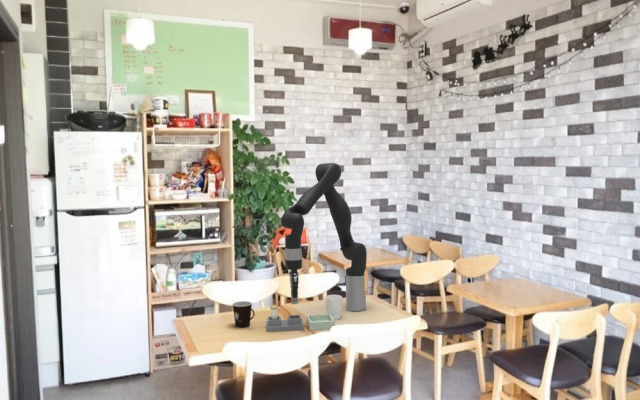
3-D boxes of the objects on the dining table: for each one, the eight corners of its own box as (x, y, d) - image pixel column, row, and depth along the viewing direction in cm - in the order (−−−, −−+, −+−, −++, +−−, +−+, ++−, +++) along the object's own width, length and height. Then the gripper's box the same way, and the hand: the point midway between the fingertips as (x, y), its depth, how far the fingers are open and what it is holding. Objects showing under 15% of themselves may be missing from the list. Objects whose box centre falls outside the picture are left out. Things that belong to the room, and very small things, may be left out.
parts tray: (330, 321, 240) (330, 313, 240) (334, 328, 229) (334, 321, 229) (306, 322, 239) (306, 315, 238) (309, 330, 228) (309, 322, 227)
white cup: (345, 317, 246) (345, 296, 245) (334, 321, 240) (334, 300, 239) (333, 314, 251) (332, 293, 250) (322, 318, 245) (321, 297, 244)
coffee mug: (231, 324, 238) (230, 302, 237) (249, 321, 241) (248, 300, 240) (237, 331, 227) (236, 309, 226) (256, 329, 231) (256, 306, 230)
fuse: (277, 322, 233) (277, 304, 232) (278, 324, 230) (278, 307, 229) (270, 322, 233) (269, 305, 232) (270, 325, 229) (270, 307, 229)
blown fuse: (298, 301, 234) (297, 284, 233) (298, 304, 230) (298, 286, 230) (290, 302, 233) (290, 284, 233) (291, 304, 230) (290, 286, 229)
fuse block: (301, 323, 238) (301, 313, 237) (303, 329, 229) (303, 319, 228) (266, 325, 235) (265, 315, 235) (267, 332, 226) (266, 321, 226)
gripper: (303, 260, 224) (304, 300, 225) (300, 254, 238) (301, 291, 239) (286, 261, 223) (287, 301, 224) (283, 255, 236) (284, 292, 238)
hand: (294, 296), depth 232 cm, fingers closed on blown fuse, 3 cm apart
